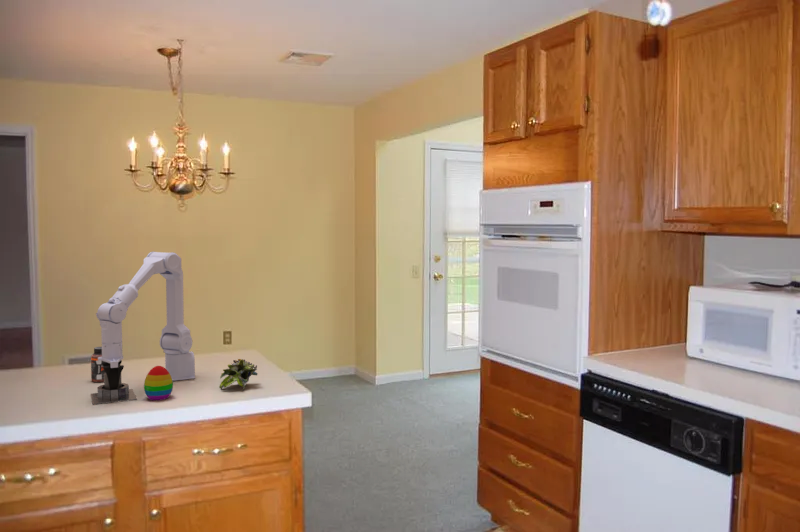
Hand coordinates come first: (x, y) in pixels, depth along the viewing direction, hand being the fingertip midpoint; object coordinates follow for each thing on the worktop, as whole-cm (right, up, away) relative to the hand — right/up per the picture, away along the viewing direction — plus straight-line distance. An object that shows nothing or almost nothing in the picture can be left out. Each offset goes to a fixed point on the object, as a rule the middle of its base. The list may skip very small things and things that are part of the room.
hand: (113, 386), depth 192 cm
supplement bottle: (-13, -2, +19) cm, 23 cm away
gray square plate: (0, -3, 0) cm, 3 cm away
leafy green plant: (+36, -3, +12) cm, 38 cm away
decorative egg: (+14, -4, 0) cm, 15 cm away
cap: (0, -2, 0) cm, 2 cm away
